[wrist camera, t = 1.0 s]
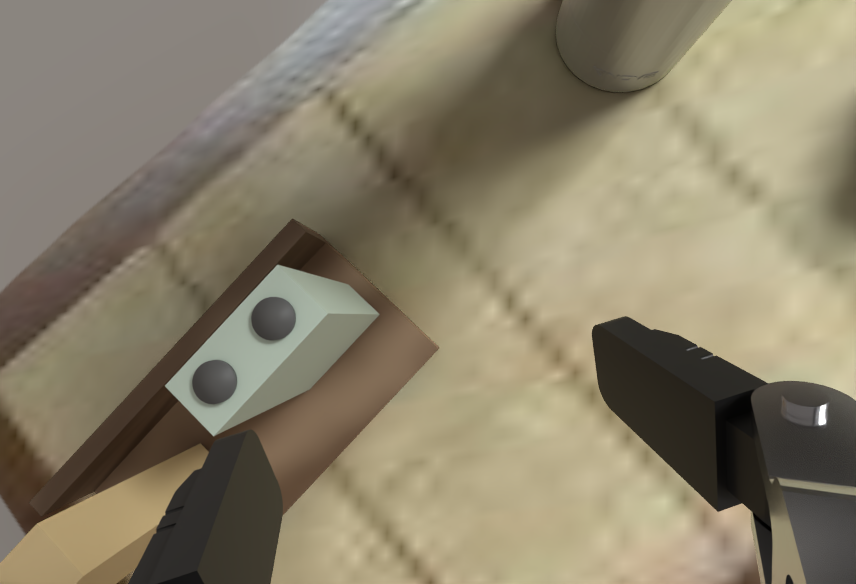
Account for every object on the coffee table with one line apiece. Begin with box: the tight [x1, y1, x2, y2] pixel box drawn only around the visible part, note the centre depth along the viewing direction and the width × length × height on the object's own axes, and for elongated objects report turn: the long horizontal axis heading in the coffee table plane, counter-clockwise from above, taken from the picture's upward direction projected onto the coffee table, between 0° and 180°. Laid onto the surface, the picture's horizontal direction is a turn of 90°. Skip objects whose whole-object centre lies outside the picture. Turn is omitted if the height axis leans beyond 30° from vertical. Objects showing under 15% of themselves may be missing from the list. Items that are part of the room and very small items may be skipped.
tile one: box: [0, 443, 209, 584], centre depth 25 cm, size 3×7×12 cm, turn 137°
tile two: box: [165, 265, 380, 436], centre depth 25 cm, size 3×7×12 cm, turn 137°
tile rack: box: [29, 219, 439, 517], centre depth 30 cm, size 12×24×6 cm, turn 137°
